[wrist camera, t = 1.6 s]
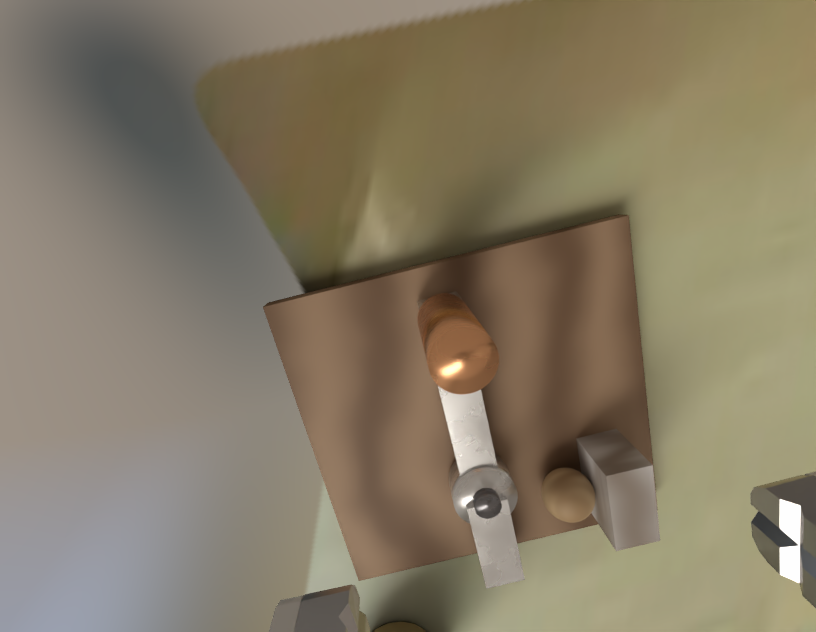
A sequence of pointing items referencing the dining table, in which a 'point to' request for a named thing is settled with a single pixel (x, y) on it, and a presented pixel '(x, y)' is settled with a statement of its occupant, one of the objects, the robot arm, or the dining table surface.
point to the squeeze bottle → (400, 627)
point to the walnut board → (503, 397)
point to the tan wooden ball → (568, 495)
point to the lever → (472, 431)
